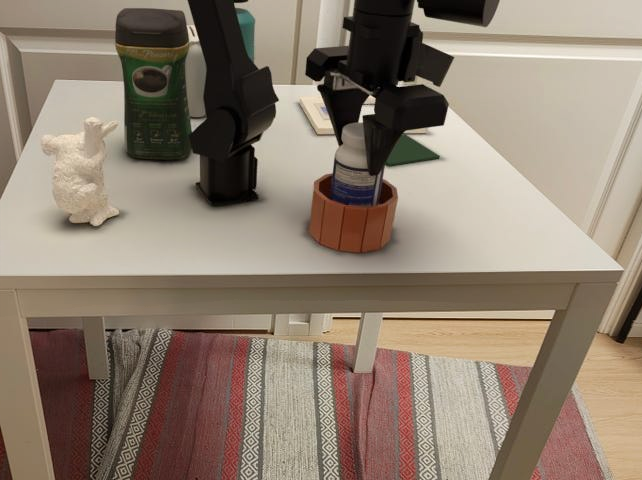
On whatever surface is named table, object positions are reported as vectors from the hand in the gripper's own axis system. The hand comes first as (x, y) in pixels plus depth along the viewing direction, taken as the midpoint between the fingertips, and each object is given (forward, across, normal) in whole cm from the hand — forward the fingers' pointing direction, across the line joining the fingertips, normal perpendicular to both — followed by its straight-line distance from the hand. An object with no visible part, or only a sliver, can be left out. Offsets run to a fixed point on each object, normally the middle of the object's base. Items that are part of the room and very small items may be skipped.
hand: (359, 164), depth 73 cm
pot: (+8, 0, 0) cm, 8 cm away
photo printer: (+9, +46, +3) cm, 47 cm away
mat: (+8, +20, -20) cm, 29 cm away
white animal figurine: (+9, +14, +28) cm, 32 cm away
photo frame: (+8, +34, -22) cm, 41 cm away
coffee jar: (+9, +30, +14) cm, 35 cm away
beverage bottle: (+9, +36, 0) cm, 38 cm away
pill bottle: (+6, 0, 0) cm, 6 cm away
